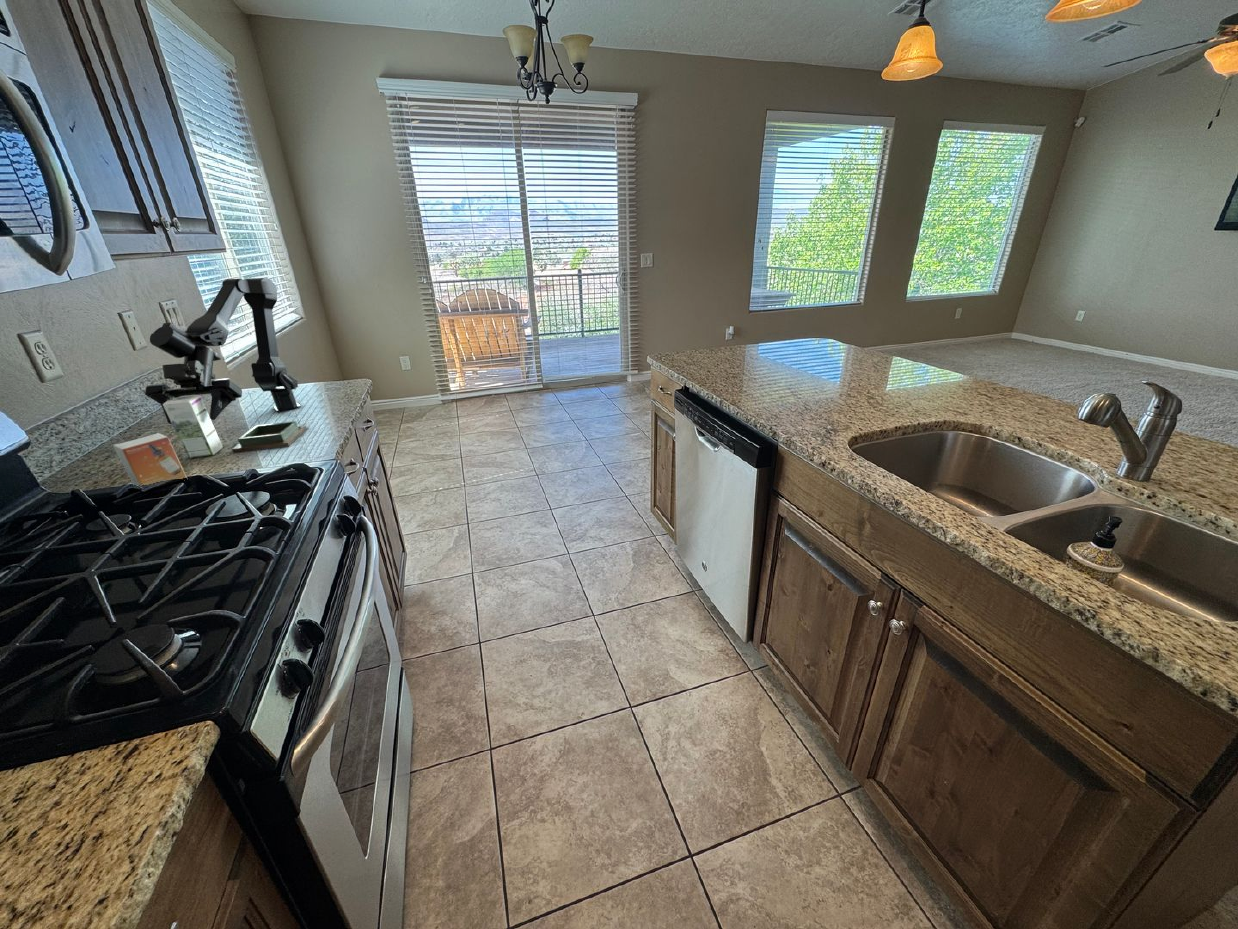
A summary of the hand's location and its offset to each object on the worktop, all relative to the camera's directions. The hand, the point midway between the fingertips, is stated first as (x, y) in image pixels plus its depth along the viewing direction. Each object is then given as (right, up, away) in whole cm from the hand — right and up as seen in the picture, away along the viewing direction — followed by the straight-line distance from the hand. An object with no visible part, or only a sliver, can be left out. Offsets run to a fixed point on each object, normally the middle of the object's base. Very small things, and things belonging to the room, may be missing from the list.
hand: (191, 421), depth 120 cm
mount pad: (+13, -4, +10) cm, 17 cm away
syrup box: (0, -8, +4) cm, 9 cm away
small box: (+4, -15, -12) cm, 20 cm away
